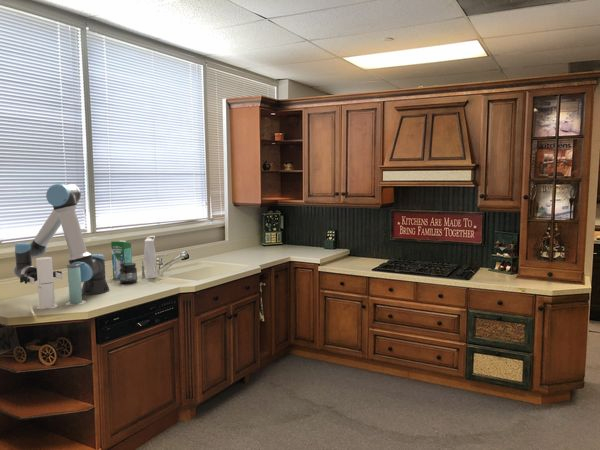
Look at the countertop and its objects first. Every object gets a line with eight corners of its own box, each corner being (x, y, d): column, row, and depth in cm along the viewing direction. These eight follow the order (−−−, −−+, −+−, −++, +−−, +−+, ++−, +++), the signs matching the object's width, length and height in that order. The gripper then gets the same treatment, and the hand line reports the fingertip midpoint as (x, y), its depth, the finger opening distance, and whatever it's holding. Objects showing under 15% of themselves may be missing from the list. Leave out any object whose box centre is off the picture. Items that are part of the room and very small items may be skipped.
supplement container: (128, 280, 320) (127, 262, 319) (141, 281, 316) (140, 263, 315) (116, 283, 311) (115, 264, 309) (129, 284, 306) (128, 265, 305)
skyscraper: (152, 276, 334) (150, 235, 331) (159, 277, 328) (157, 236, 326) (141, 278, 327) (139, 236, 324) (148, 279, 322) (146, 237, 319)
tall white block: (51, 308, 247) (48, 259, 244) (36, 308, 247) (33, 259, 244) (57, 304, 254) (54, 256, 252) (43, 305, 254) (39, 257, 251)
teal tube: (81, 300, 262) (79, 263, 260) (83, 302, 257) (81, 265, 255) (68, 302, 259) (66, 264, 257) (70, 304, 253) (67, 266, 251)
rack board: (84, 301, 265) (84, 298, 265) (88, 306, 255) (88, 303, 255) (35, 308, 253) (35, 305, 252) (37, 313, 243) (37, 310, 243)
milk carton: (132, 276, 333) (130, 239, 330) (125, 278, 324) (123, 241, 322) (120, 275, 335) (119, 239, 332) (113, 278, 326) (111, 241, 324)
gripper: (56, 276, 271) (73, 281, 257) (5, 284, 252) (21, 290, 238) (55, 263, 270) (72, 267, 256) (4, 270, 251) (20, 275, 237)
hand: (47, 278), depth 247 cm, fingers open, 13 cm apart
